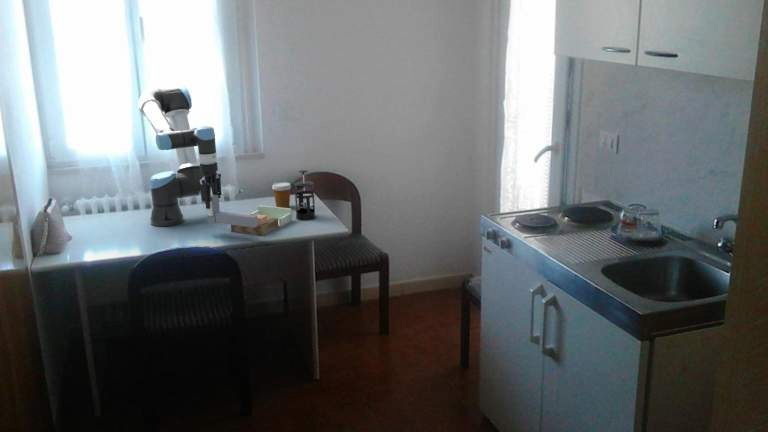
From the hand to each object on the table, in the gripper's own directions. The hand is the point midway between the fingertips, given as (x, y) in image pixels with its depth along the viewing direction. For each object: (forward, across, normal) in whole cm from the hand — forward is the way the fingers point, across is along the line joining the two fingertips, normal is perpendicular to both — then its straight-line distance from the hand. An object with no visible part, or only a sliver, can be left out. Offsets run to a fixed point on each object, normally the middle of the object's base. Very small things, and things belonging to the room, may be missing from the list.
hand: (213, 213), depth 319 cm
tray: (+9, +23, -15) cm, 29 cm away
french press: (+9, +35, -27) cm, 45 cm away
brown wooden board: (+9, +11, -14) cm, 20 cm away
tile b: (+5, +9, -18) cm, 21 cm away
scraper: (+4, 0, -10) cm, 11 cm away
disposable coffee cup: (+9, +46, -8) cm, 47 cm away
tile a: (+5, +9, -10) cm, 14 cm away
